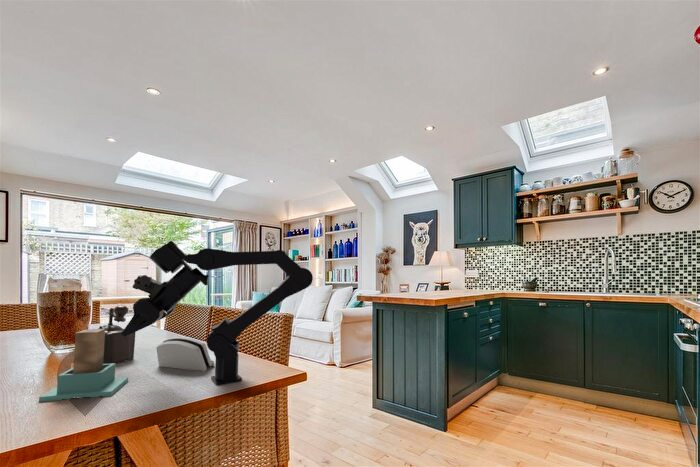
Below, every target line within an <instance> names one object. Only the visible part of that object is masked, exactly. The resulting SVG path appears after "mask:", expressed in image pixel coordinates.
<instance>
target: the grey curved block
mask: <svg viewBox="0 0 700 467" xmlns="http://www.w3.org/2000/svg"><path fill="white" fill-rule="evenodd" d="M207 348H208V347H207V344H205V342H203V341H201V340H198V339H196V338H192V337H187V336H177V337H176V336H175V337H170V338H167V339H165V340H164V341H162V342H161V343H159V344H158V345H157V347H156V348H155V349H156V350H155V351H156V354H157V362H158V367H163V368H173V369H182V370H189V371H190V370H192V371H199V372H200V371H201V372H202V371H203V372H204V371H207V370H208V367H211V368H214V366H215V361H214V360H212V359H211V357H210V355H209V351H208V349H207Z"/></svg>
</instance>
